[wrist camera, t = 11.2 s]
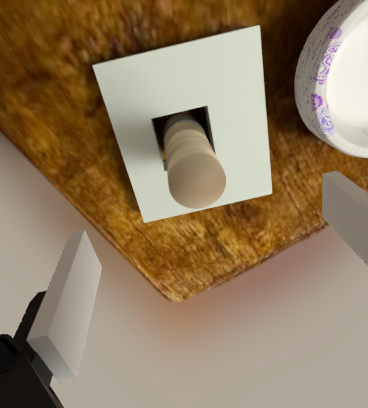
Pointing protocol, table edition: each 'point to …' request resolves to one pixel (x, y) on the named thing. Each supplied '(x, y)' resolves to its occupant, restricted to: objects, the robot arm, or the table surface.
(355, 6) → the paper bowls
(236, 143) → the socket board
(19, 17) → the table surface
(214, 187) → the maple dowel
